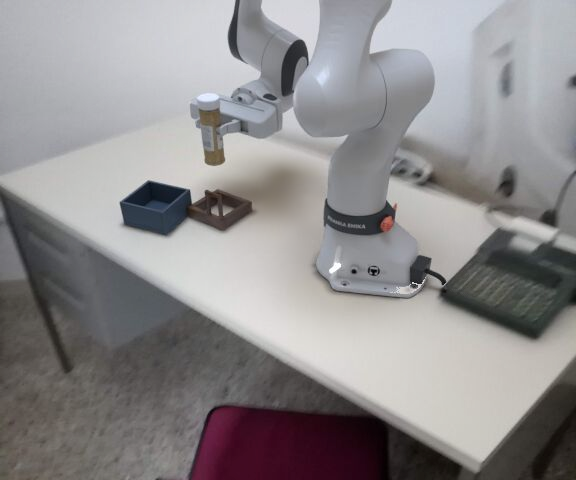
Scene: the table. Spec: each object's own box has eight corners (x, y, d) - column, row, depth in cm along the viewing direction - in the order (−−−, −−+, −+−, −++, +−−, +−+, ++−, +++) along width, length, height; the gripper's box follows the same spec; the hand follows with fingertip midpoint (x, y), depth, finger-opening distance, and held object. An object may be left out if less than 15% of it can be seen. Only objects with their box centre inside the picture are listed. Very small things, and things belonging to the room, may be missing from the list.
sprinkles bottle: (229, 163, 127) (223, 97, 118) (210, 168, 125) (203, 102, 116) (218, 155, 130) (212, 90, 120) (200, 160, 128) (192, 95, 119)
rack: (252, 211, 137) (250, 178, 131) (223, 231, 131) (219, 197, 126) (218, 198, 141) (215, 166, 136) (188, 216, 136) (183, 183, 130)
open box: (193, 211, 137) (190, 189, 133) (166, 235, 130) (162, 212, 126) (152, 202, 141) (148, 179, 137) (124, 224, 133) (119, 202, 129)
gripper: (213, 81, 132) (169, 101, 124) (287, 101, 123) (245, 123, 115) (215, 110, 136) (173, 131, 128) (288, 131, 128) (247, 155, 120)
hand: (208, 128), depth 122 cm, fingers closed on sprinkles bottle, 4 cm apart
